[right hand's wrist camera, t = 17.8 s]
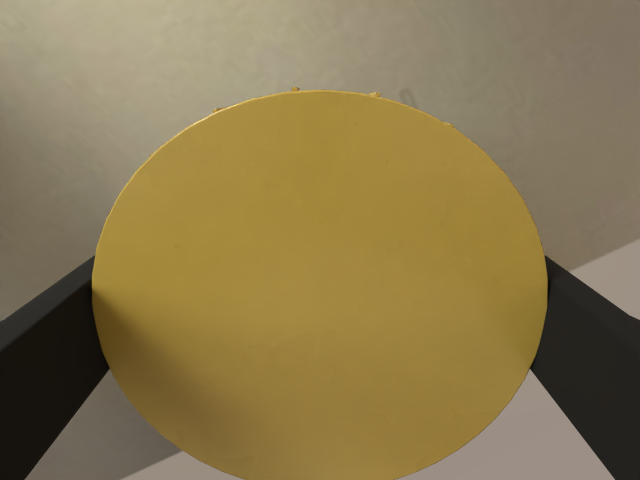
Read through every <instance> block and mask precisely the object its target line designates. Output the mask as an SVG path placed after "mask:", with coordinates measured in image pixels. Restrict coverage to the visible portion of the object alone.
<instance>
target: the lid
mask: <svg viewBox="0 0 640 480" xmlns="http://www.w3.org/2000/svg"><path fill="white" fill-rule="evenodd" d="M547 306H548V277H547V270H546V263H545V256H544V250H543V247H542V244H541V241H540V237H539V234H538V231H537V228H536V224H535V222H534V220H533V218H532V216H531V214H530V212H529V210H528V208H527V206H526V204H525V202H524V200H523V198H522V196H521V195H520V194H519V192H518V191H517V189H516V188H515V186H514V185H513V184H512V182H511V181H510V179H509V178H508V176H507V175H506V174H505V172H504V171H503V170H502V169H501V168H500V167H499V166H498V165H497V164H496V163H495V162H494V161H493V160H492V159H491V158H490V157H489V156H488V155H487V154H486V153H485V151H484V150H482V149H481V148H480V147H479V146H477V145H476V144H475V143H473V142H472V141H471V140H469V139H468V138H467V137H466V136H464V135H463V134H462V133H460V132H459V131H458V130H456V129H455V128H454V126H453V125H452V124H449V123H444V122H442V121H440V120H438V119H437V118H435V117H433V116H431V115H429V114H428V113H425V112H423V111H420V110H417V109H415V108H412V107H410V106H407V105H404V104H402V103H399V102H396V101H394V100H389V99H385V98H380V93H369V95H367V94H363V93H357V92H344V91H332V90H310V91H300V89H299V88H297V87H293V88H292V92H283V93H278V94H273V95H269V96H264V97H259V98H254V99H250V100H247V101H244V102H241V103H239V104H236V105H233V106H230V107H226V108H218V109H215V110H213V114H211V115H209V116H207V117H205V118H203V119H201V120H200V121H198V122H196V123H194V124H192V125H190V126H188V127H187V128H185V129H184V130H182V131H181V132H180V133H178V134H177V135H176V136H174V137H173V138H172V139H170V140H169V141H168V142H166V143H165V144H163V145H162V146H161V147H160V148H159V149H158V150H157V151H156V152H155V153H152V154H151V155H150V158H149V159H148V160H147V161H146V162H145V163H144V164H143V165H142V166H141V167H140V168H139V169H138V170H137V171H136V172H135V174H134V175H133V176H132V178H131V179H130V181H129V182H128V183H127V185H126V186H125V187H124V189H123V190H122V191H121V193H120V194H119V196H118V198H117V200H116V202H115V204H114V206H113V208H112V210H111V211H110V213H109V215H108V217H107V219H106V221H105V224H104V227H103V231H102V234H101V237H100V240H99V243H98V246H97V249H96V255H95V261H94V267H93V273H92V307H93V313H94V318H95V323H96V328H97V332H98V336H99V340H100V344H101V348H102V352H103V354H104V357H105V359H106V361H107V363H108V365H109V368H110V370H111V372H112V374H113V376H114V378H115V379H116V381H117V383H118V384H119V386H120V388H121V389H122V391H123V392H124V394H125V396H126V397H127V398H128V400H129V401H130V402H131V403H132V404H133V406H134V407H135V408H136V409H137V411H138V412H139V413H140V414H141V416H142V417H143V418H144V419H145V420H146V421H147V422H149V423H150V424H151V425H152V426H153V427H154V428H155V429H156V430H157V431H158V432H159V433H160V434H161V435H163V436H164V437H165V438H166V439H168V440H169V441H170V442H172V443H173V444H174V445H176V446H177V447H178V448H179V449H181V450H183V451H184V452H186V453H188V454H189V455H191V456H193V457H194V458H196V459H198V460H199V461H201V462H203V463H205V464H207V465H209V466H212V467H214V468H216V469H218V470H220V471H222V472H225V473H228V474H230V475H233V476H236V477H239V478H242V479H245V480H395V479H398V478H401V477H404V476H407V475H410V474H412V473H415V472H417V471H419V470H422V469H424V468H426V467H428V466H430V465H433V464H435V463H437V462H438V461H440V460H442V459H444V458H445V457H447V456H449V455H450V454H452V453H454V452H455V451H457V450H459V449H460V448H461V447H463V446H464V445H465V444H467V443H468V442H469V441H471V440H472V439H473V438H475V437H476V436H477V435H478V434H480V433H481V432H482V431H483V430H484V429H485V428H486V427H487V426H488V425H489V424H490V423H491V422H492V421H493V420H494V419H495V418H496V417H497V416H498V415H499V414H500V412H501V411H502V410H503V409H504V408H505V407H506V405H507V404H508V403H509V402H510V401H511V399H512V398H513V396H514V395H515V393H516V392H517V390H518V389H519V387H520V386H521V384H522V382H523V381H524V379H525V377H526V375H527V373H528V371H529V369H530V367H531V365H532V363H533V361H534V358H535V356H536V353H537V350H538V347H539V343H540V339H541V335H542V330H543V326H544V321H545V316H546V312H547Z"/></svg>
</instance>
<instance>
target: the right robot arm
mask: <svg viewBox="0 0 640 480" xmlns="http://www.w3.org/2000/svg"><path fill="white" fill-rule="evenodd" d="M544 256H545V255H544ZM94 261H95V256H93V257H92V258H90V259H89V260H87V261H86V262H85V263H83V264H82V265H80V266H79V267H78V268H76V269H75V270H73V271H72V272H71V273H69V274H68V275H66V276H65V277H64V278H62V279H61V280H59V281H58V282H57V283H55V284H54V285H52V286H51V287H50V288H48V289H47V290H45V291H44V292H43V293H41V294H40V295H38V296H37V297H36V298H34V299H33V300H31V301H30V302H28V303H27V304H26V305H24V306H23V307H21V308H20V309H19V310H17V311H16V312H14V313H13V314H12V315H10V316H9V317H7V318H6V319H5V320H3V321H1V322H0V480H25V478H26V477H27V476H28V474H29V473H30V472H31V470H32V469H33V468H34V467H35V465H36V464H37V463H38V461H39V460H40V459H41V457H42V456H43V455H44V454H45V452H46V451H47V450H48V448H49V447H50V446H51V444H52V443H53V442H54V441H55V439H56V438H57V437H58V435H59V434H60V433H61V431H62V430H63V429H64V428H65V426H66V425H67V424H68V422H69V421H70V420H71V418H72V417H73V416H74V414H75V413H76V412H77V411H78V409H79V408H80V407H81V405H82V404H83V403H84V401H85V400H86V399H87V398H88V396H89V395H90V394H91V392H92V391H93V390H94V388H95V387H96V386H97V385H98V383H99V382H100V381H101V379H102V378H103V377H104V375H105V374H106V373H107V372H108V370H109V369H110V368H109V365H108V363H107V361H106V359H105V357H104V354H103V352H102V348H101V344H100V340H99V336H98V332H97V328H96V323H95V318H94V313H93V307H92V273H93V267H94ZM545 263H546V270H547V277H548V306H547V312H546V316H545V321H544V326H543V330H542V335H541V339H540V343H539V347H538V350H537V353H536V356H535V358H534V361H533V363H532V365H531V367H530V369H531V371H532V372H533V373H534V374H535V376H536V377H537V378H538V380H539V381H540V382H541V384H542V385H543V386H544V388H545V389H546V390H547V391H548V393H549V394H550V395H551V397H552V398H553V399H554V400H555V402H556V403H557V404H558V406H559V407H560V408H561V410H562V411H563V412H564V414H565V415H566V416H567V417H568V419H569V420H570V421H571V423H572V424H573V425H574V426H575V428H576V429H577V430H578V432H579V433H580V434H581V436H582V437H583V438H584V440H585V441H586V442H587V443H588V445H589V446H590V447H591V449H592V450H593V451H594V453H595V454H596V455H597V456H598V458H599V459H600V460H601V462H602V463H603V464H604V466H605V467H606V468H607V470H608V471H609V472H610V473H611V475H612V476H613V477H614V479H615V480H640V320H638V319H636V318H634V317H632V316H629V315H628V314H627V313H625V312H624V311H622V310H621V309H620V308H618V307H617V306H615V305H614V304H613V303H611V302H610V301H608V300H607V299H606V298H604V297H603V296H601V295H600V294H599V293H597V292H596V291H594V290H593V289H592V288H590V287H589V286H587V285H586V284H585V283H583V282H582V281H580V280H579V279H578V278H576V277H575V276H573V275H572V274H570V273H569V272H568V271H566V270H565V269H563V268H562V267H561V266H559V265H558V264H556V263H555V262H554V261H552V260H551V259H549V258H548V257H547V256H545Z"/></svg>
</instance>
